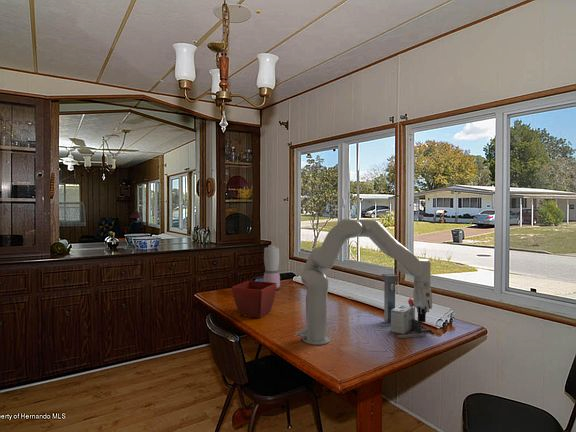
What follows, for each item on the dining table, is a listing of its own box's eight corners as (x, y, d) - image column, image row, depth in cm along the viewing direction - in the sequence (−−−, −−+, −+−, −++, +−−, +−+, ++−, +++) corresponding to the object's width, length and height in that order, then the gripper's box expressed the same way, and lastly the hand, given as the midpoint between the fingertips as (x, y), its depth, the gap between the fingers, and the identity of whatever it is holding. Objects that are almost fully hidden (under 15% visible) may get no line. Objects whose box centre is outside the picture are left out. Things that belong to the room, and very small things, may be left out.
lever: (411, 325, 177) (411, 299, 177) (406, 322, 182) (406, 297, 182) (418, 325, 178) (418, 299, 178) (413, 322, 183) (413, 296, 183)
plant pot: (231, 316, 194) (230, 286, 193) (249, 307, 211) (249, 280, 210) (261, 321, 185) (260, 290, 185) (277, 311, 203) (277, 282, 202)
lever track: (423, 335, 165) (423, 332, 165) (402, 321, 184) (402, 319, 184) (434, 334, 166) (434, 331, 166) (412, 321, 185) (412, 318, 185)
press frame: (398, 338, 161) (398, 284, 160) (375, 321, 185) (375, 274, 184) (425, 336, 163) (425, 283, 163) (399, 319, 187) (399, 273, 187)
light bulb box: (399, 325, 178) (399, 304, 178) (412, 328, 174) (412, 307, 174) (390, 331, 170) (390, 309, 170) (404, 334, 166) (404, 311, 166)
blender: (275, 291, 252) (275, 247, 251) (260, 289, 257) (260, 246, 256) (284, 287, 266) (284, 245, 265) (270, 285, 271) (270, 244, 270)
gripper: (438, 287, 164) (437, 326, 165) (420, 280, 179) (420, 316, 179) (423, 288, 163) (423, 327, 163) (407, 281, 177) (406, 317, 178)
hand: (421, 321), depth 171 cm, fingers closed
